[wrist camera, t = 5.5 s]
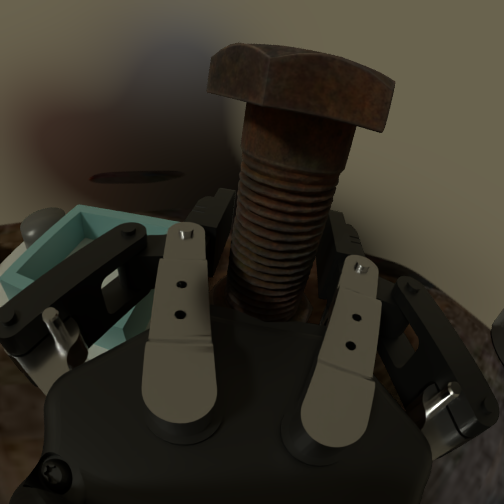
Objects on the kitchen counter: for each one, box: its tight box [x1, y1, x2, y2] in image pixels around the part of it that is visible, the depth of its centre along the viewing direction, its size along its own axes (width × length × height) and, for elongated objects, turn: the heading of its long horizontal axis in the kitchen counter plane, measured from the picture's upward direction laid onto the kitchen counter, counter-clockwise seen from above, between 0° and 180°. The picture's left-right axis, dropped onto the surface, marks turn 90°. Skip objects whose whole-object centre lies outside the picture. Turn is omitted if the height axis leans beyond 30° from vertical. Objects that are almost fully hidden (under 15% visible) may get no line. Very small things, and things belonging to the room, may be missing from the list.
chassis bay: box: [0, 205, 180, 362], centre depth 17 cm, size 16×12×4 cm
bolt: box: [207, 43, 395, 323], centre depth 11 cm, size 6×5×15 cm
